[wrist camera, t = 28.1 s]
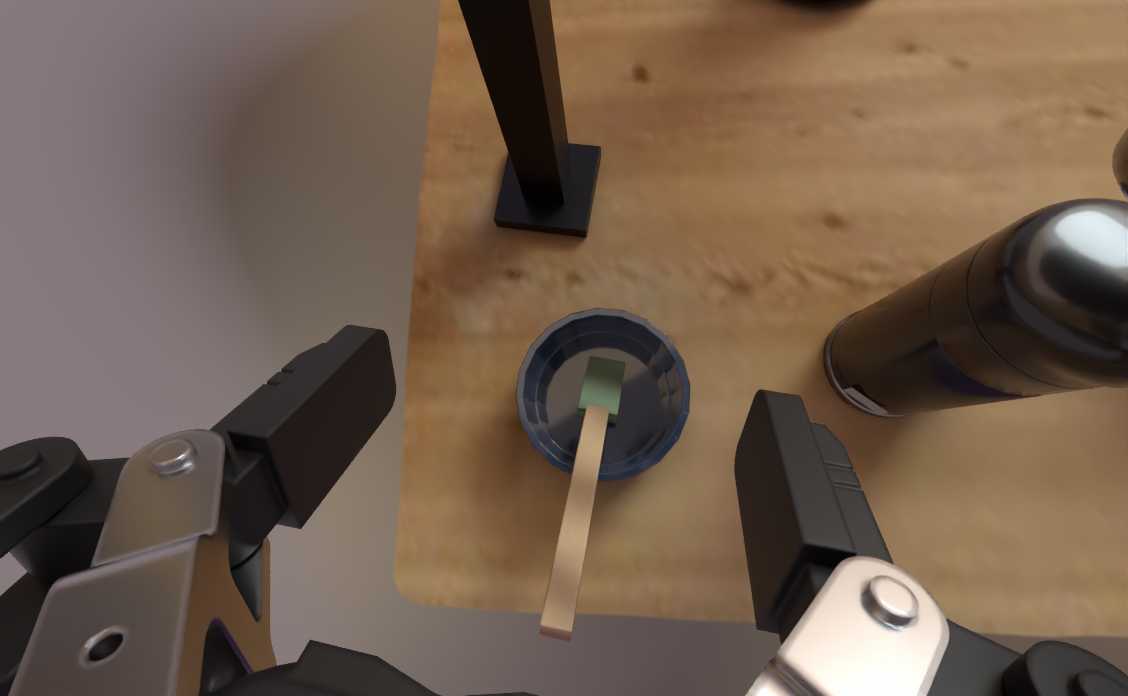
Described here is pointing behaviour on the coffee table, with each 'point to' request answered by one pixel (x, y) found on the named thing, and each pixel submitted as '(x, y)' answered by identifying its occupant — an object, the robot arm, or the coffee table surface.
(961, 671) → the robot arm
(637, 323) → the bowl
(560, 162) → the headphone stand
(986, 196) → the coffee table surface
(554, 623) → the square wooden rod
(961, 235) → the coffee table surface
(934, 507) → the coffee table surface
